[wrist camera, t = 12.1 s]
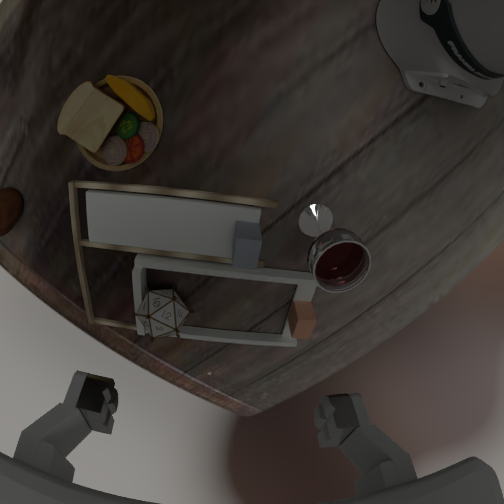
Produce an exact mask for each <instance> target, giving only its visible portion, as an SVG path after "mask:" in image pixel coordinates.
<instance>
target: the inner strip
mask: <svg viewBox="0 0 504 504" xmlns="http://www.w3.org/2000/svg"><path fill="white" fill-rule="evenodd" d="M86 207H87V222H88V233H89V241H91V242H99V243H107V244H115V245H123V246H131V247H140V248H148V249H156V250H165V251H173V252H182V253H190V254H199V255H208V256H216V257H225V258H232V267H237V268H247V269H257V265H258V260H259V255H260V250H261V246H262V236H261V231H260V226H259V221H260V215H261V208H259V207H252V206H244V205H237V204H229V203H221V202H212V201H204V200H195V199H186V198H177V197H167V196H157V195H147V194H136V193H125V192H113V191H100V190H88V191H87V192H86Z"/></svg>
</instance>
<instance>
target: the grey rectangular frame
mask: <svg viewBox="0 0 504 504" xmlns="http://www.w3.org/2000/svg"><path fill="white" fill-rule="evenodd" d="M134 263H135V267H134V269H133V271H132V281H133V294H134V305H135V313H137V311H138V309H139V307H140V305H141V303H142V301H143V299H144V297H145V295H146V293H147V291H146V289H145V286H147V283H146V268H152V269H160V270H168V271H176V272H184V273H193V274H201V275H210V276H219V277H228V278H238V279H247V280H257V281H267V282H277V283H287V284H297V287H296V290H295V293H294V297H293V300H292V303H291V306H290V309H289V312H288V316H287V319H286V322H285V325H284V328H283V331H282V334H269V333H255V332H242V331H230V330H219V329H209V328H200V327H191V326H183V325H182V327H181V329H180V332H179V333H180V334H179V333H178V334H179V335H180V338H187V339H196V340H205V341H215V342H226V343H238V344H252V345H268V346H288V347H296V345H297V339H296V338H299V339H310V337H311V335H312V332H313V330H314V328H315V325H316V323H317V318H316V315H315V312H314V309H313V306H312V303H311V301H312V298H313V295H314V292H315V289H316V287H317V286H318V285H317V284H316V282H315V281H314V276H313V274H312V273H309V272H299V271H290V270H280V269H271V268H262V267H257V269H247V268H237V267H232V264H225V263H217V262H208V261H199V260H191V259H182V258H174V257H165V256H157V255H149V254H141V253H138V254H137V256H136V258H135V260H134ZM136 325H137V333H138V334H139V335H145V333H148V332H147V330H146V329H145V327H144V326H143V324H142V323H141V322H140V320H139V319H138V317H137V316H136ZM171 337H177V336H176V335H172V336H171Z"/></svg>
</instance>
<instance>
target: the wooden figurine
mask: <svg viewBox="0 0 504 504" xmlns="http://www.w3.org/2000/svg"><path fill="white" fill-rule="evenodd" d="M22 210H23V200H22V196H21V195H20V193H19V192H18V191H17V190H15V189H12V188H4V189H1V190H0V236H4V235H5V234H7V233H8V232H9V231H10V230H11V229H12V228H13V226H14V225H15V223H16V222H17V220H18V219H19V217H20V215H21V213H22Z"/></svg>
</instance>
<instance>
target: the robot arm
mask: <svg viewBox="0 0 504 504" xmlns="http://www.w3.org/2000/svg"><path fill="white" fill-rule="evenodd" d="M376 24H377V30H378V34H379V37H380V39H381V42H382V44H383V46H384V48H385V50H386V51H387V53H388V54H389V56H390V57H391V58H392V60H393V61H394V62H395V63H396V65H397V66H398V68H399V69H400V72H401V75H402V78H403V81H404V83H405V86H406V87H407V89H409V90H410V91H413V92H417V93H422V94H426V95H430V96H434V97H439V98H442V99H446V100H450V101H454V102H457V103H461V104H464V105H467V106H471V107H474V108H481V107H482V106H483V104H484V103H485V102H486V100H487V98H488V96H489V97H494V96H496V95H497V94H498V92H499V91H500V89H501V87H502V84H503V80H504V0H381V1H380V3H379V5H378V8H377V13H376ZM419 83H421V87H420V86H419ZM114 385H115V382H114V380H113V379H112V378H107V377H102V376H98V375H93V374H90V373H86V372H81V371H76V372H75V374H74V376H73V378H72V381H71V384H70V386H69V389H68V392H67V394H66V397H65V400H64V403H63V404H62V403H59V404H58V405H57V406H55V407H54V408H53V409H51V410H50V411H48V412H47V413H46V414H44V415H43V416H42V417H40V418H39V419H38V420H36V421H35V422H34V423H33V424H31V425H30V426H28V427H27V428H26V429H24V430H23V431H22V432H21V435H20V438H19V441H18V444H17V447H16V451H15V453H14V457H13V458H11V457H9V456H7V455H5V454H3V453H1V452H0V504H159V503H152V502H146V501H141V500H136V499H130V498H126V497H121V496H117V495H112V494H109V493H105V492H101V491H97V490H94V489H91V488H87V487H83V486H81V485H78V484H74V483H72V481H73V476H74V471H75V468H74V467H73V465H72V464H71V463H69V461H68V460H67V459H66V458H65V457H66V456H67V455H68V454H69V453H70V452H71V451H72V450H73V449H74V448H75V447H76V446H77V445H78V444H79V443H80V442H81V441H82V440H83V439H84V438H85V437H86V436H87V435H88V434H89V433H90V432H91V430H94V431H98V432H102V433H107V434H111V433H112V428H113V423H114V419H113V416H112V414H114V413H115V412H116V411H117V406H118V393H117V390H116V389H115V388H114ZM314 421H315V425H316V426H317V427H318V428H319V429H320V430H319V432H318V434H317V435H318V440H319V445H320V448H322V447H334V446H339V448H340V449H341V450H342V452H343V453H344V454H345V455H346V456H347V457H348V458H349V460H350V461H351V462H352V463H353V464H354V465H355V466H356V467H357V468H358V470H359V471H360V472H361V473H362V474H363V475H364V476H362V477H361V478H359V479H358V480H357V481H356V482H355V483H354V487H355V492H356V497H352V498H347V499H343V500H337V501H331V502H325V503H319V504H504V498H503V494H502V491H501V487H500V484H499V481H498V478H497V475H496V473H495V471H494V470H493V468H492V467H490V466H489V465H487V464H486V463H485V462H483V461H482V460H481V459H479V458H477V457H469V458H467V459H465V460H462V461H460V462H458V463H456V464H454V465H451V466H449V467H447V468H444V469H442V470H440V471H437V472H435V473H432V474H430V475H427V476H424V477H422V478H419V479H417V476H416V472H415V469H414V467H413V464H412V461H411V458H410V455H409V454H408V453H407V452H406V451H404V450H403V449H402V448H401V447H400V446H398V445H397V444H396V443H395V442H394V441H393V440H392V439H390V438H389V437H388V436H387V435H386V434H385V433H383V432H382V431H381V430H380V429H379V428H378V427H377V426H375V425H371V422H370V419H369V416H368V413H367V410H366V408H365V405H364V402H363V399H362V396H361V395H360V393H350V394H336V395H335V394H334V395H325V396H323V398H322V403H321V404H319V405H318V406H317V407H316V409H315V414H314Z"/></svg>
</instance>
